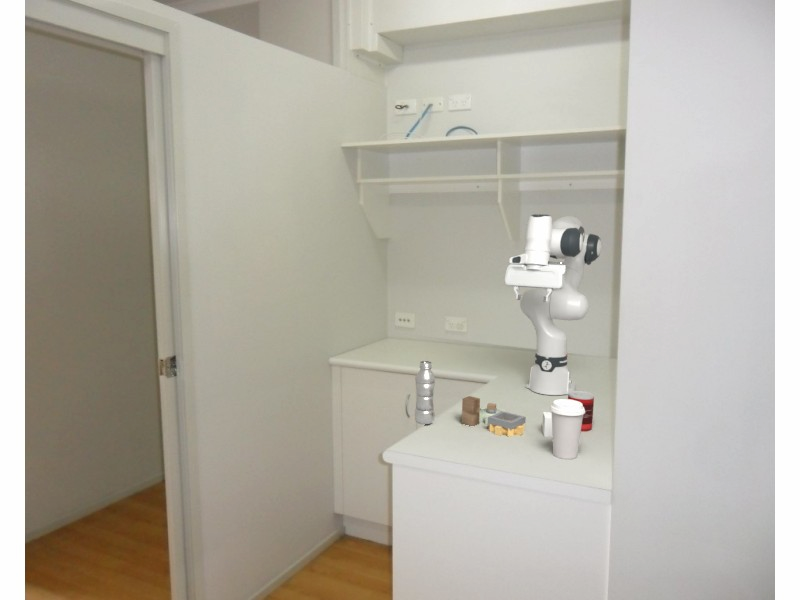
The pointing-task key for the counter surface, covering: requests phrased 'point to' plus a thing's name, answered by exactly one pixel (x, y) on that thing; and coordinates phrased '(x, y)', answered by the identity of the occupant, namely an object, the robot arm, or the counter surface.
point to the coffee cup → (566, 427)
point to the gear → (488, 412)
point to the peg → (470, 410)
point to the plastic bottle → (425, 394)
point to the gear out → (506, 424)
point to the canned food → (588, 404)
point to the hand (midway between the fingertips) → (532, 300)
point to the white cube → (547, 424)
